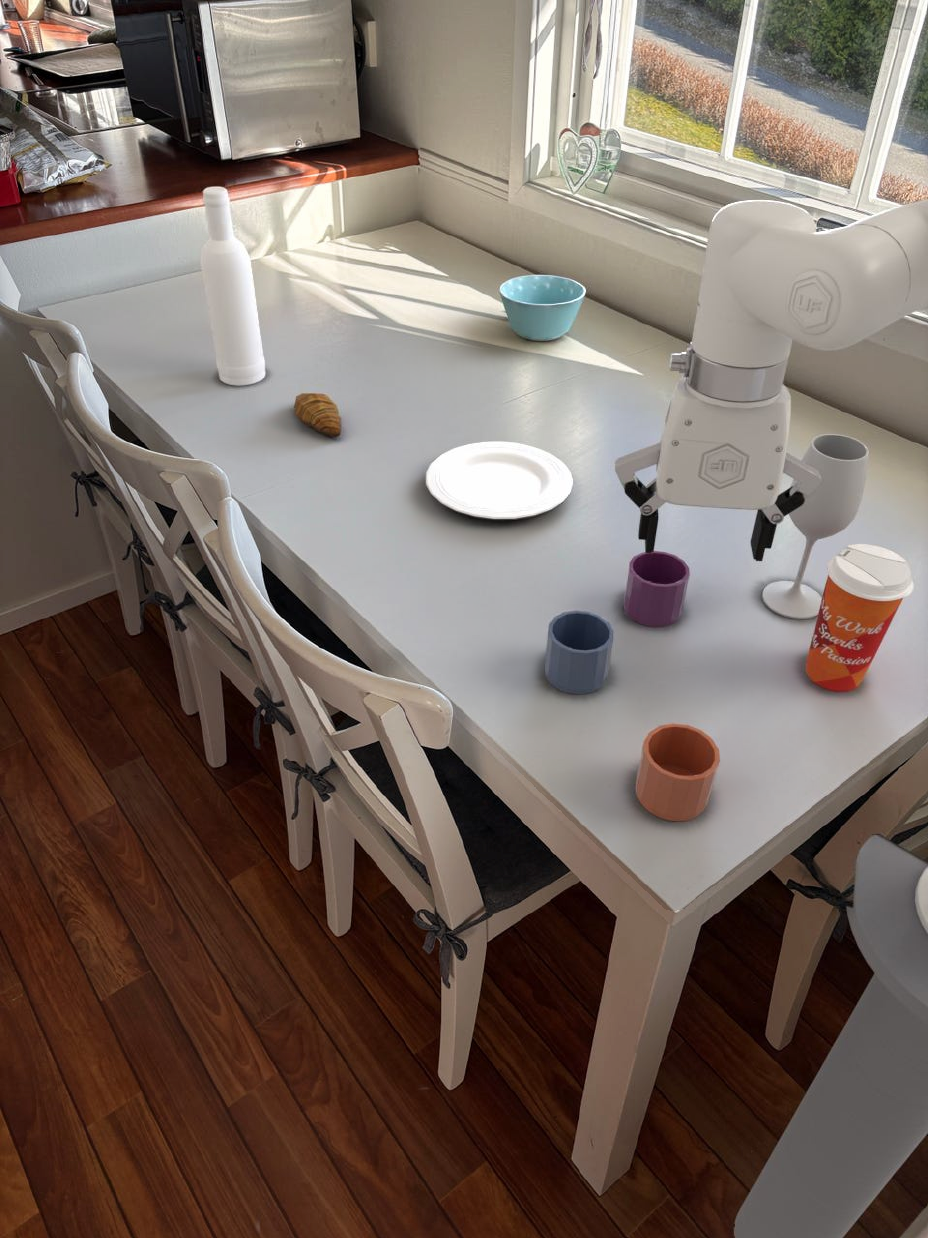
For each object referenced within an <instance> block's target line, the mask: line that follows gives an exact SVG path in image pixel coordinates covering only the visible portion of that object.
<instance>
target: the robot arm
mask: <svg viewBox="0 0 928 1238" xmlns="http://www.w3.org/2000/svg"><path fill="white" fill-rule="evenodd" d="M708 230H709V231H708V235H707V240H706V241H707V242H706V247H705V253H704V261H703V267H702V274H701V280H700V286H699V294H698V300H697V306H696V313H695V319H694V324H693V325H694V326H693V330H692V331H693V332H692V339H691V341H690V342H689V348H686V349H685V352H680V353H671V354H670V358H669V359H670V360H669V371H671V372H678V374H682V375H683V376H681V377H680V378H679V379H678V381H677V383H676V386H675V388H674V391H673V393H672V396H671V398H670V402H669V406H668V409H667V413H666V416H665V420H664V424H663V428H662V434H661V436H660V437H661V438H660V442H658V443H655V444H652V445H649V446H647V447H644V448H642V449H639V450H636V451H633V452H631V453H628V454H626V455H623V456H620V457H618V458H617V459H615V462H614V464H615V465H614V471H615V473H616V475H617V478H618V480H619V482H620V484H621V486H622V487H623V491H624V494H625V495H626V496H627V498H629V500H631V501H632V502H633V503H634V504H635V505H636V507H638V508H639V512H640V515H639V516H640V517H639V522H638V523H639V524H638V534H637V535H638V536H637V537H638V540H642V541H644V552H645V553H651V552H654V551H655V546H656V539H657V532H658V526H659V525H658V524H659V509H660V508H661V507H662V506H663V505H665V504H666V503H668V504H671V505H676V506H686V507H697V508H699V507H700V508H713V509H729V510H746V511H756V510H757V511H756V516H755V519H754V523H753V524H754V525H753V528H752V532H751V537H750V547H751V548H750V549H751V553H752V558H753V560H755V561H756V562H763V559H764V556H765V551H766V549H769V550H770V549H772V547H773V543H774V538H775V535H776V530H777V527H778V525H779V524H782V522H783V521H784V518H785V517H786V516H789V513H791V512H792V511H794V510H796V509H797V508H799V507H800V506H802V505H803V504H804V502H805V499H806V498H807V497H809V496H810V495H811V494H812V492H813V491H814V490H815V489H816V488H817V487H818V486H819V485H820V484H821V481H822V480H821V477H820V474H819V471H818V470H816V469H814V468H813V467H811V466H809V465H807V464H806V463H804V462H802V460H801V459H799V458H797V457H796V456H794V455H792V454H790V453H788V452H787V451H788V444H789V443H788V441H789V435H790V426H791V413H792V397H791V393H790V391H789V389H788V387H787V386H785V384H784V380H785V376H786V371H787V366H788V363H789V358H790V353H791V349H792V346H793V345H792V344H793V341H795V342H797V343H799V344H801V345H803V346H805V347H808V348H811V349H814V350H820V351H839V350H843V349H847V348H849V347H851V346H854V345H856V344H858V343H860V342H862V341H864V340H865V339H867V338H869V337H871V336H873V335H875V334H876V333H878V332H880V331H881V330H883V329H885V328H886V327H888V326H890V325H891V324H893V323H895V322H897V321H899V320H902V319H903V318H905V317H907V316H909V315H911V314H913V313H915V312H919V311H922V310H928V198H926V199H923V200H918V201H915V202H911V203H907V204H903V205H899V206H896V207H892V208H889V209H886V210H883V211H880V212H878V213H875V214H871V215H869V216H867V217H864V218H862V219H860V220H857V221H855V222H853V223H850V224H847V225H845V226H842V227H838V228H833V229H828V230H823V231H817V228H816V222H815V220H814V218H813V216H812V215H811V214H810V213H809V212H808V211H807V210H806V209H805V208H802V207H799V206H797V205H794V204H791V203H788V202H783V201H778V200H777V201H776V200H765V199H751V200H742V201H741V200H740V201H736V202H733V203H730V204H727V205H725V206H723V207H722V208H721V209H719V211H718V212H716V214H715V215H714V217H713V219H712V221H711V223H710V225H709V229H708ZM655 465H656V469H655V470H656V477H655V478H654V479H652V480H651V481H650V482H648V484H647V485H645V484H644V483H643V482H642V481H641V480H640V479H639V478H638V477H637V475H636V473H637V472H638V471H641V470H644V469H646V468H649V467H652V466H655ZM783 474H785V475H786V476H788V477H790V478H792V479H796V480H797V482H796V483H795V485H794V486H792V487H790V486H789V488H787V489H786V490H783V491H782V492H780V489H781V485H782V479H783ZM915 904H916V909H917V913H918V916H919V918H920V921H921V923H922V925H923V927H924V929H925V930H926V932H927V934H928V867H927V868H926V869H925V870H924V872H923V874H922V875H921V877H920V879H919V881H918V884H917V887H916V890H915Z"/></svg>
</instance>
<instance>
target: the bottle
mask: <svg viewBox="0 0 928 1238" xmlns="http://www.w3.org/2000/svg"><path fill="white" fill-rule="evenodd" d="M202 195H203V197H202V202H203V204H204V207H205V214H206V220H207V227H208V233H209V238H208V239H207V241H206V242H205V243H204V244H203V246H202V248H201V251H200V258H199V263H200V269H201V274H202V281H203V288H204V294H205V300H206V305H207V312H208V317H209V324H210V330H211V335H212V342H213V347H214V353H215V361H216V368H217V372H218V378H219V380H220V381H221V382H223V383H224V384H227V385H229V386H237V387H241V386H250V385H254V384H256V383H259V382H261V381H262V380H263V379H264V378H265V376H266V361H265V357H264V352H263V343H262V335H261V327H260V321H259V320H260V319H259V313H258V307H257V297H256V290H255V283H254V276H253V267H252V261H251V257H250V255H249V252H248V250H247V248H246V246H245V245H244V243H243V242H242V241H240V240H239V238H237V236H235V235H234V228H233V222H232V215H231V206H230V202H231V199H230V196H229V192H228V189H227V188H225V187H223V186H207V187H206V188H204V189H203V190H202Z"/></svg>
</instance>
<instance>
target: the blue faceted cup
mask: <svg viewBox="0 0 928 1238" xmlns="http://www.w3.org/2000/svg"><path fill="white" fill-rule="evenodd" d="M614 632H615V631H614V628H613V627H612V625H611V624H610V622H609V621H608V620H607V619H605V618H604V617H602V616H601V615H598V614H596V613H594V612H590V611H586V610H570V611H563V612H562V613H560V614H558V615H556V616H554V617H553V618H552V620H551V621H550V622H549V623H548V627H547V638H546V639H547V640H546V648H545V649H546V650H545V658H544V659H545V660H544V676H545V678H546V680H547V681H548V682H549V684H550V685H551V686H552V687H554V688H556V689H557V690H559V691H561V692H563V693H567V694H571V695H572V694H573V695H586V694H590V693H594V692H595V691H598V690H599V689H601V688H602V687H603V686H604V685H605V683H606V682H607V679H608V677H609V670H610V663H611V658H612V657H611V656H612V649H613V645H614V644H613V643H614Z"/></svg>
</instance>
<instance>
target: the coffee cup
mask: <svg viewBox="0 0 928 1238" xmlns="http://www.w3.org/2000/svg"><path fill="white" fill-rule="evenodd" d="M826 571H827V577H826V582H825V584H824V588H823V591H822V595H821V598H822V600H821V604H820V609H819V613H818V615H817V616H816V617H817V618H816V621H815V624H814V628H813V633H812V636H811V641H810V644H809V649H808V652H807V653H808V654H807V658H806V663H805V672H806V675H807V676H808V678H809V679H810V680H811V681H812V682H813V683H814V684H816V685H817V686H819V687H821V688H823V689H825V690H828V691H831V692H838V693H845V692H846V693H847V692H851V691H854V690H856V689H857V688H858V687H859V686H860V685H861V683H862V682H863V680H864V678H865V676H866V674H867V672H868V670H869V668H870V666H871V664H872V662H873V660H874V659H875V656H876V654H877V652H878V650H879V648H880V646H881V644H882V642H883V640H884V639H885V636H886V634H887V632H888V630H889V628H890V626H891V624H892V622H893V620H894V617H895V616H896V614H897V612H898V609H899V607H900V606H901V604H902V601H903V600H904V598H907V597H909V596H910V595H911V594H912V592H913V591H914V588H915V587H914V586H915V585H914V583H913V577H912V575H911V569H910V565H909V564H908V562H907V561H906V559H904V558H903V557H901V555H899V554H897V553H896V552H895V551H892V550H890V549H888V548H885V547H882V546H878V545H874V544H866V543H857V544H849V545H846V546H845V547H844V548H842V549H841V550H840V551H839V552H837V553H836V554H835V555H834V556H832V557H831V558H830V559H829V561H828V563H827V565H826Z"/></svg>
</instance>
